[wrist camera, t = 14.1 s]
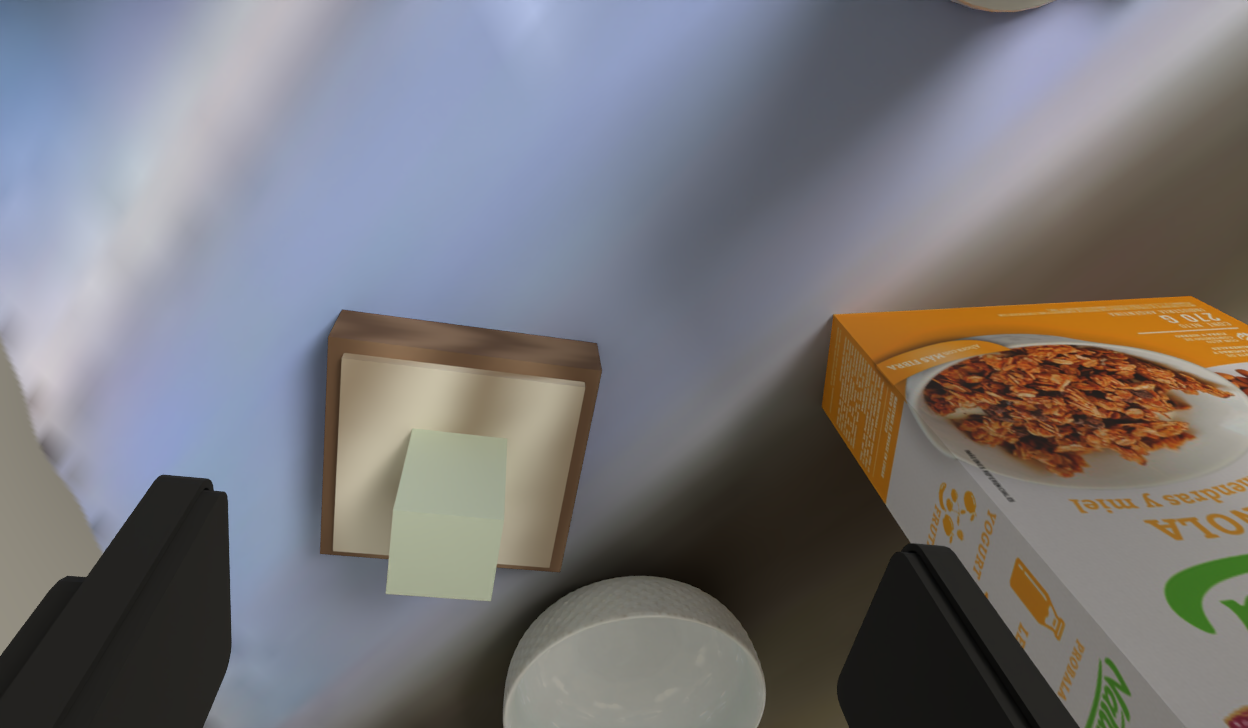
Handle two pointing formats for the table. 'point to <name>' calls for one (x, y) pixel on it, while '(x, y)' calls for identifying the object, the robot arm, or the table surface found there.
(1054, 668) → the cereal box
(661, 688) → the cereal bowl
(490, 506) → the block
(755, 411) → the table surface
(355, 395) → the base
